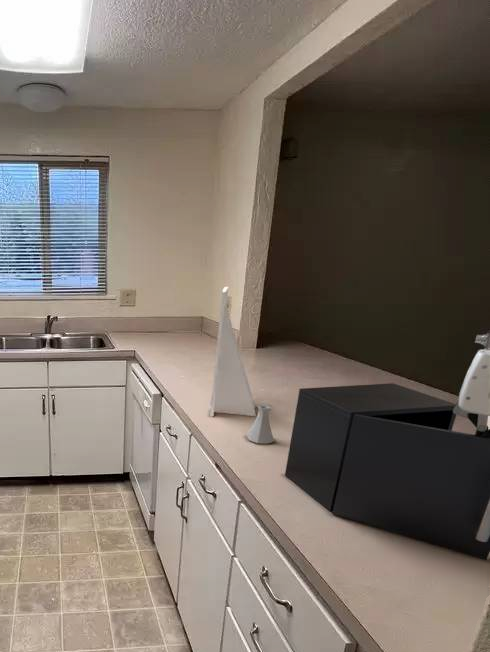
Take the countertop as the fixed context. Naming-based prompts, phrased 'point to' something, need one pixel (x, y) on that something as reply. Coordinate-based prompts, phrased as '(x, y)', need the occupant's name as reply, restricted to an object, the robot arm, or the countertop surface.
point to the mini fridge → (349, 428)
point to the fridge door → (418, 483)
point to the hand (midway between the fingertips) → (482, 451)
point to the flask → (261, 427)
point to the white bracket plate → (229, 371)
